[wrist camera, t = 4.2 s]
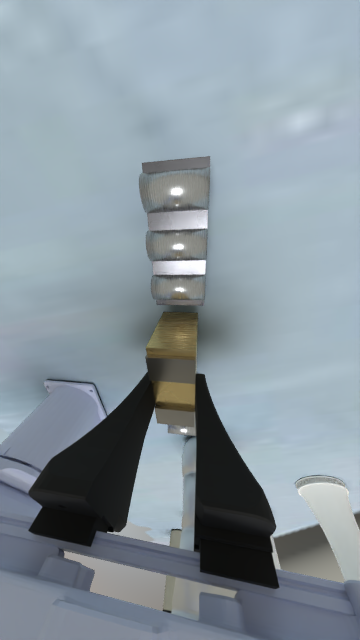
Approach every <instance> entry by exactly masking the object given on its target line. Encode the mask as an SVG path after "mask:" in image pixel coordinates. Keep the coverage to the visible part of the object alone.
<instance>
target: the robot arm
mask: <svg viewBox="0 0 360 640" xmlns="http://www.w3.org/2000/svg"><path fill="white" fill-rule="evenodd" d="M43 384H44V386H45V387H46V389H47V391H48V392H49V394H50V395H49V396H48V397H47V398H46V399H45V400H44V401H43V402H42V403H41V404H40V405H39V406H38V407H37V408H36V409H35V410H34V411H33V412H32V413H31V414H30V415H29V416H28V417H27V418H26V419H25V420H24V421H23V422H22V423H21V424H20V425H19V426H18V427H17V428H16V429H15V430H14V431H13V432H12V433H11V434H10V435H9V436H8V438H7V439H5V441H3V442H2V444H1V445H0V640H360V581H357V580H347V581H345V582H344V583H340V582H335V581H331V580H326V579H321V578H317V577H312V576H307V575H303V574H298V573H293V572H288V571H284V570H279V569H275V565H274V560H273V556H272V553H273V547H272V543H271V539H270V536H271V535H272V534H273V533H274V531H275V529H276V524H275V520H274V517H273V514H272V511H271V508H270V505H269V503H268V501H267V498H266V496H265V494H264V491H263V489H262V488H261V486H260V485H259V483H258V482H257V481H256V479H255V478H254V476H253V475H252V473H251V472H250V470H249V469H248V467H247V466H246V464H245V462H244V461H243V459H242V458H241V456H240V455H239V453H238V451H237V449H236V448H235V446H234V444H233V443H232V441H231V439H230V437H229V436H228V434H227V432H226V430H225V428H224V426H223V424H222V422H221V420H220V418H219V416H218V414H217V411H216V409H215V407H214V404H213V402H212V399H211V396H210V393H209V390H208V387H207V383H206V379H205V375H204V374H196V380H195V424H196V480H195V518H194V551H190V550H185V549H180V548H175V547H171V546H166V545H161V544H157V543H152V542H147V541H142V540H137V539H133V538H128V537H123V536H119V535H114V534H110V533H107V531H108V532H114V531H115V532H120V531H121V530H122V529H123V528H124V527H125V526H126V523H127V517H128V512H129V507H130V502H131V497H132V492H133V487H134V482H135V478H136V473H137V468H138V464H139V460H140V455H141V451H142V447H143V443H144V439H145V435H146V432H147V429H148V426H149V423H150V420H151V417H152V414H153V411H154V407H155V404H156V403H155V397H154V392H153V386H152V381H150V380H149V374H148V372H147V373H146V374H145V376H144V377H143V378H142V380H141V381H140V382H139V383H138V385H137V386H136V387H135V388H134V389H133V390H132V392H131V393H130V394H129V395H128V396H127V397H126V398H125V399H124V400H123V401H122V403H121V404H120V405H119V406H118V407H117V408H116V409H115V410H114V411H112V412H111V413H110V414H109V415H108V416H106V413H105V411H104V409H103V406H102V404H101V401H100V399H99V396H98V394H97V391H96V389H95V386H94V385H93V384H86V383H74V382H62V381H50V380H46V381H45V382H44V383H43ZM64 551H68V552H72V553H76V554H80V555H84V556H88V557H93V558H97V559H101V560H105V561H110V562H114V563H118V564H123V565H127V566H131V567H135V568H140V569H144V570H148V571H152V572H156V573H160V574H165V575H169V576H173V577H177V578H182V579H186V580H190V581H194V582H199V583H203V584H207V585H211V586H215V587H220V588H224V589H228V590H232V591H237V593H236V594H235V597H234V598H231V597H228V596H223V595H217V594H211V593H205V592H201V593H200V594H199V620H198V621H197V620H193V619H189V618H186V617H182V616H178V615H175V614H171V613H167V612H164V611H160V610H156V609H153V608H149V607H145V606H141V605H138V604H134V603H130V602H126V601H122V600H119V599H115V598H112V597H108V596H104V595H100V594H96V593H93V592H90V586H91V583H92V580H93V577H94V574H95V572H94V570H93V569H90V568H87V567H85V566H83V565H82V564H81V563H79V562H76V561H73V560H69V559H66V558H64Z"/></svg>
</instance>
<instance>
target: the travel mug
mask: <svg viewBox="0 0 360 640" xmlns="http://www.w3.org/2000/svg"><path fill="white" fill-rule="evenodd" d="M181 533H182V530H178V529H175V530H173V531H171V536H170V546H171V547H175V548H180V538H181ZM175 579H176V577H173V576H169V575H167V576H166V585H165V595H164V605H163V611H164V612H167V613H171V612H172V600H173V593H174V586H175Z"/></svg>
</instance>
